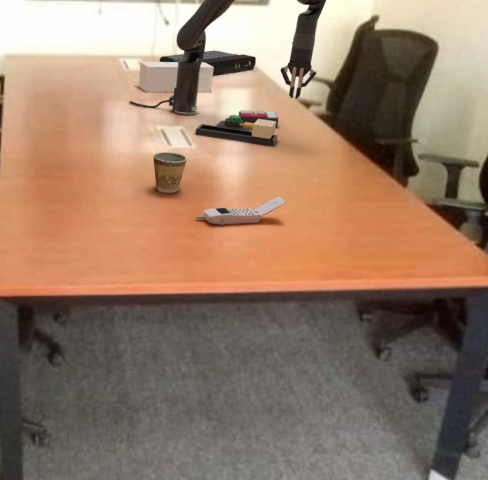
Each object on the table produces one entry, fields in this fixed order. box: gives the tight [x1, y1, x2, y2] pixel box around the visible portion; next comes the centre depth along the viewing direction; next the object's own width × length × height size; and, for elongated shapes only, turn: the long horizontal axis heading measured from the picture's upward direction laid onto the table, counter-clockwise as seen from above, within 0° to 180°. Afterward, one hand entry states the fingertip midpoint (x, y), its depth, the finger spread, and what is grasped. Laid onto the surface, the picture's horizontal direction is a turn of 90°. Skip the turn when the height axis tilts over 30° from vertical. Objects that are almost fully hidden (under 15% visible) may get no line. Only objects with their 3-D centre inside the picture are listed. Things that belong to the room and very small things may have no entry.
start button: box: [228, 114, 240, 122], centre depth 300 cm, size 4×4×2 cm
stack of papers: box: [138, 61, 214, 93], centre depth 352 cm, size 32×11×11 cm, turn 107°
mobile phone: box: [196, 195, 287, 226], centre depth 215 cm, size 6×6×25 cm
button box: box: [215, 117, 250, 131], centre depth 301 cm, size 12×9×3 cm
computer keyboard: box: [159, 50, 257, 76], centre depth 400 cm, size 45×28×7 cm, turn 134°
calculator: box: [238, 109, 279, 129], centre depth 310 cm, size 11×4×15 cm
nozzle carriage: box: [240, 119, 276, 139], centre depth 287 cm, size 13×9×6 cm
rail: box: [194, 123, 279, 147], centre depth 290 cm, size 30×8×2 cm, turn 71°
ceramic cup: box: [153, 151, 187, 194], centre depth 234 cm, size 13×10×10 cm
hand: (293, 97), depth 277 cm, fingers closed
